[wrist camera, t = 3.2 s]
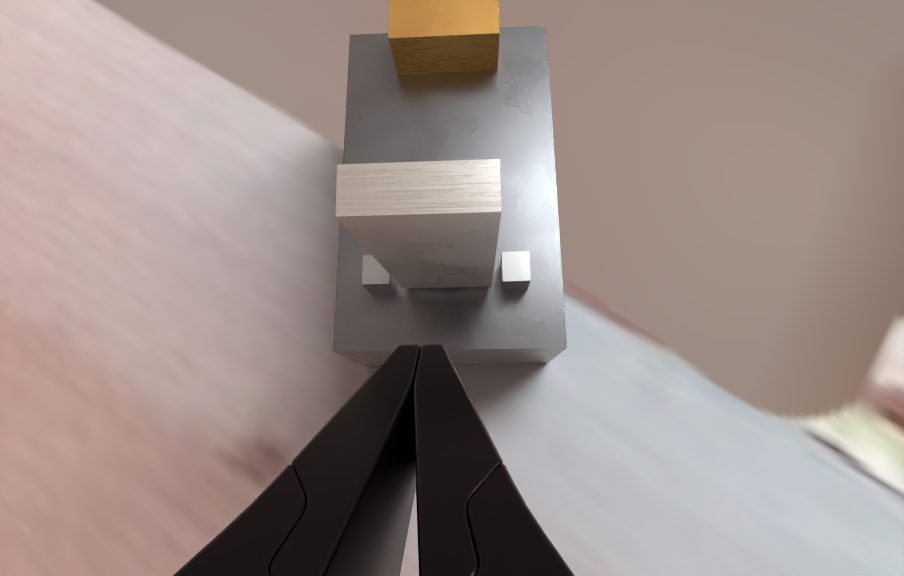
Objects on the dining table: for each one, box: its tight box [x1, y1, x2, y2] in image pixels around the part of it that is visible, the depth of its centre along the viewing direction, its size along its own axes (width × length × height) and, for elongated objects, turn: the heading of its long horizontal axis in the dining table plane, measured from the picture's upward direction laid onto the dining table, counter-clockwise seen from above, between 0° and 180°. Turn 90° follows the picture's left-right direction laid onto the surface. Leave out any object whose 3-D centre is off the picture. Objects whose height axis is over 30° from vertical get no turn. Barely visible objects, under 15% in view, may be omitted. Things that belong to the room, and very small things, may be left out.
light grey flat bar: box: [336, 159, 501, 288], centre depth 13 cm, size 8×3×1 cm
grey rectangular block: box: [333, 0, 567, 365], centre depth 20 cm, size 13×8×7 cm, turn 0°
